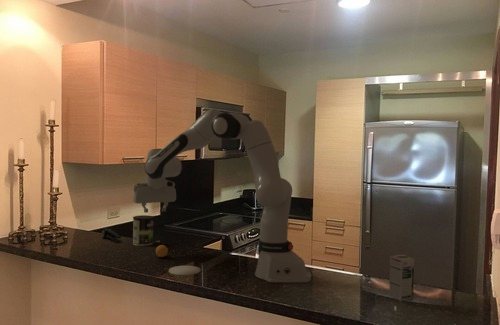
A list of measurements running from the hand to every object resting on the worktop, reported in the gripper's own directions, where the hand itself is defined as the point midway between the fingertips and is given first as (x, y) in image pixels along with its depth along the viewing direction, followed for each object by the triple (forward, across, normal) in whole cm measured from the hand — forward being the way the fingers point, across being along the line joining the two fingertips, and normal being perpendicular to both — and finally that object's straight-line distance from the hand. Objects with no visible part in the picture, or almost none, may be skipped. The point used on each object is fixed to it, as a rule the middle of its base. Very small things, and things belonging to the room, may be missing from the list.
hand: (154, 211), depth 193 cm
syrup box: (+19, +51, -99) cm, 113 cm away
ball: (+17, 0, -9) cm, 19 cm away
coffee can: (+20, +2, +20) cm, 28 cm away
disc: (+19, 0, -33) cm, 38 cm away
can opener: (+20, -9, +36) cm, 43 cm away
